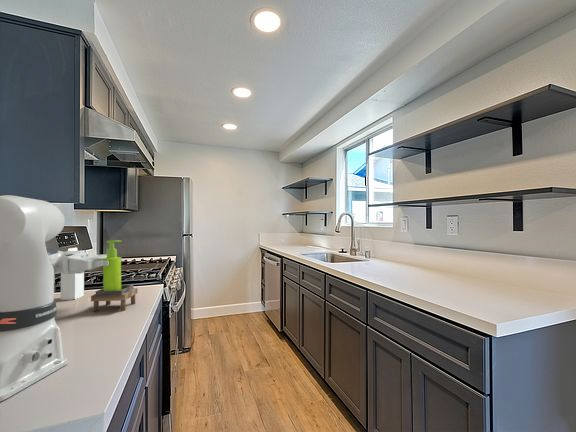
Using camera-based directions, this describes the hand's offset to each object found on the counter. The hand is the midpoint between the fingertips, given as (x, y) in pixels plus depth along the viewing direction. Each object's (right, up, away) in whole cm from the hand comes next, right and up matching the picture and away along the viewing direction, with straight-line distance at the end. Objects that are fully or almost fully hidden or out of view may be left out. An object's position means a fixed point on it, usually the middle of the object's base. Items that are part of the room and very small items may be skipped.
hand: (115, 261), depth 114 cm
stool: (0, -18, 0) cm, 18 cm away
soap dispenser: (+1, -12, -2) cm, 12 cm away
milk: (-27, -19, +14) cm, 36 cm away
